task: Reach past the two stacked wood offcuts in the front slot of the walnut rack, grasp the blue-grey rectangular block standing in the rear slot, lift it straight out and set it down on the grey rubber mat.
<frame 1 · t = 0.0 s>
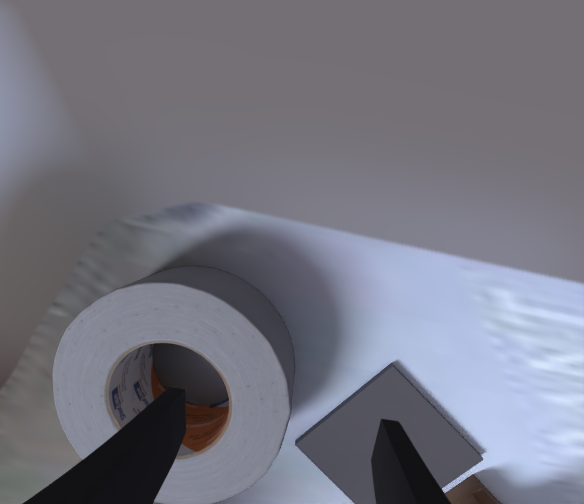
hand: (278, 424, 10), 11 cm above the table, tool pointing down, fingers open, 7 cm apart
tape roll: (201, 358, 22), on the table
mat: (385, 447, 21), on the table
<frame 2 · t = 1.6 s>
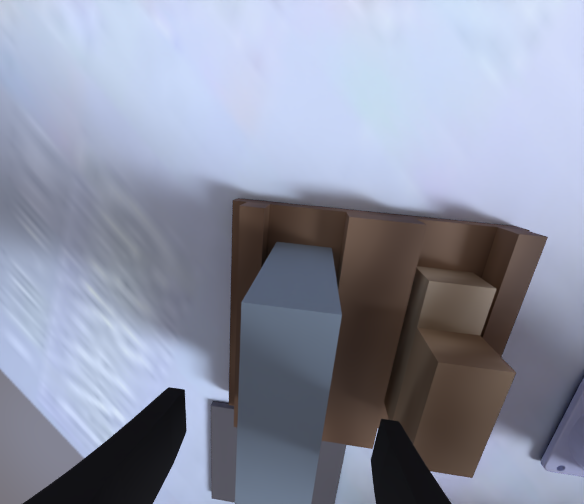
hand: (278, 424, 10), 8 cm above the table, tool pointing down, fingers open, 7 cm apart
offcut short: (433, 380, 14), point 3 cm above the table, touching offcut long
mat: (275, 460, 21), on the table
rack: (352, 322, 17), on the table
blue-grey rectangular block: (295, 324, 16), point 1 cm above the table, touching rack
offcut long: (423, 341, 16), point 1 cm above the table, touching offcut short, rack
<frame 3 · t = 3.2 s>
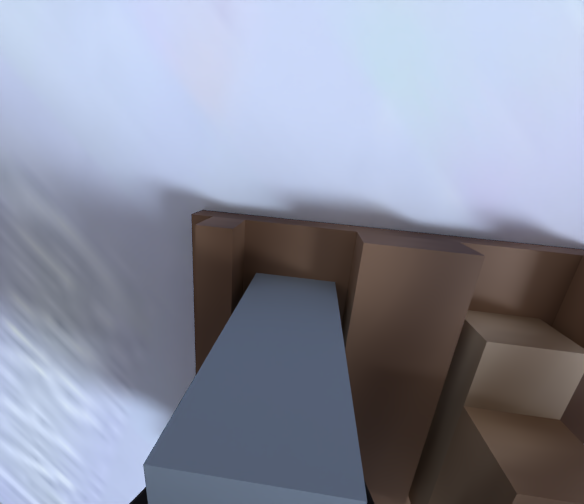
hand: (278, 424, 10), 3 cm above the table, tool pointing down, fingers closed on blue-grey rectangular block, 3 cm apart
offcut short: (483, 476, 10), point 3 cm above the table, touching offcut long
rack: (362, 377, 12), on the table
blue-grey rectangular block: (285, 382, 12), point 1 cm above the table, touching gripper, rack
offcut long: (462, 408, 11), point 1 cm above the table, touching offcut short, rack
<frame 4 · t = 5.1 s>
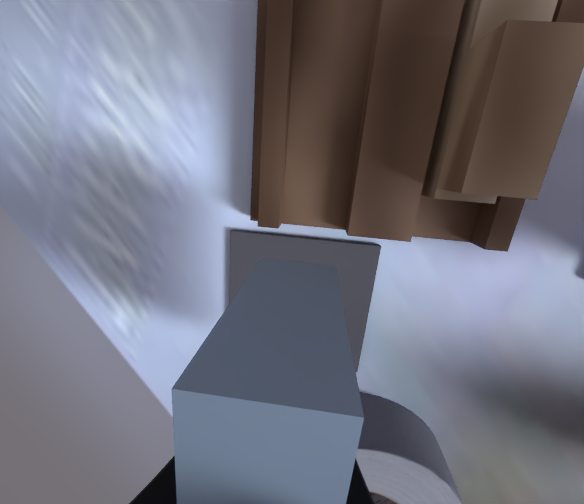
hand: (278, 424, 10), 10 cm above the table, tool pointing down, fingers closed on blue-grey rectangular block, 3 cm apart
offcut short: (484, 126, 13), point 3 cm above the table, touching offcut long
tape roll: (349, 456, 24), on the table
mat: (297, 303, 20), on the table
rack: (387, 109, 15), on the table
blue-grey rectangular block: (287, 365, 12), point 8 cm above the table, touching gripper
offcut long: (468, 111, 14), point 1 cm above the table, touching offcut short, rack
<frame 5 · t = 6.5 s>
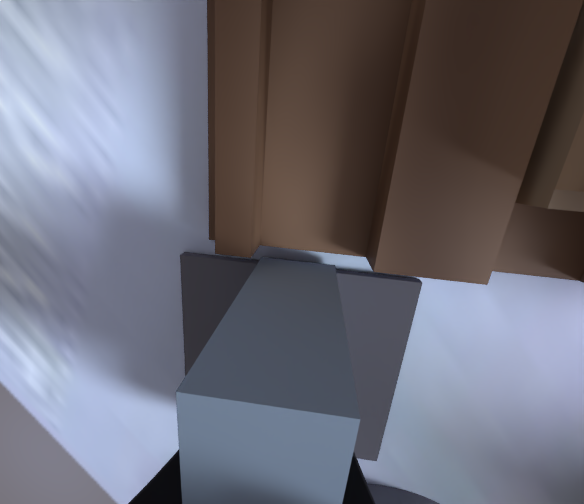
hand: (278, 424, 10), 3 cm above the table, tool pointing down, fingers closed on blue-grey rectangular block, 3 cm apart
mat: (288, 362, 13), on the table
rack: (444, 49, 9), on the table
blue-grey rectangular block: (287, 362, 12), resting on mat, touching gripper
when the fingers open (3 cm above the table, at t = 7.2 s): blue-grey rectangular block stays where it is, resting on mat.
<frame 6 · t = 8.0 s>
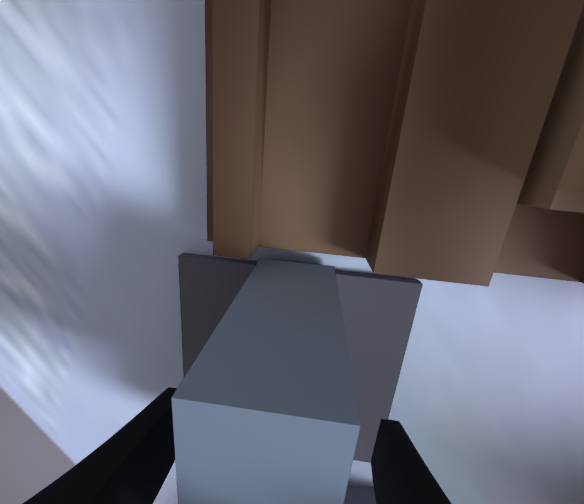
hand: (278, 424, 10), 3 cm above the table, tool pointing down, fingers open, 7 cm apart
mat: (288, 363, 13), on the table
rack: (444, 48, 9), on the table
blue-grey rectangular block: (287, 364, 12), resting on mat
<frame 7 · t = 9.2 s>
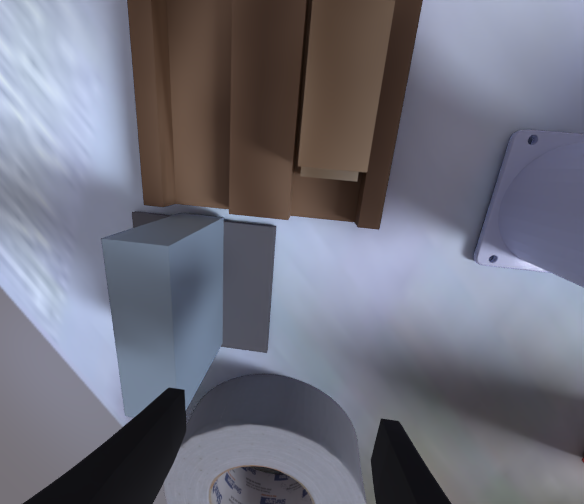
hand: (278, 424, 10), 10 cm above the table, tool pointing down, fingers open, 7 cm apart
offcut short: (337, 104, 13), point 3 cm above the table, touching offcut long
tape roll: (272, 439, 25), on the table
mat: (205, 284, 20), on the table
rack: (268, 92, 16), on the table
blue-grey rectangular block: (202, 282, 20), resting on mat
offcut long: (337, 92, 15), point 1 cm above the table, touching offcut short, rack
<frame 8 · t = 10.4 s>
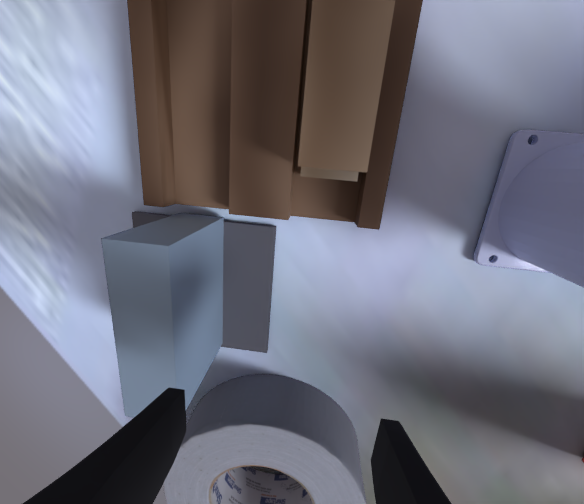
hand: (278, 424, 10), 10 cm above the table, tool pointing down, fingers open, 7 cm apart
offcut short: (337, 104, 13), point 3 cm above the table, touching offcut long
tape roll: (272, 439, 25), on the table
mat: (205, 284, 20), on the table
rack: (268, 92, 16), on the table
blue-grey rectangular block: (203, 282, 20), resting on mat
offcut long: (337, 92, 15), point 1 cm above the table, touching offcut short, rack
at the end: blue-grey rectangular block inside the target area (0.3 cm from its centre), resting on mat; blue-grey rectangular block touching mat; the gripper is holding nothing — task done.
